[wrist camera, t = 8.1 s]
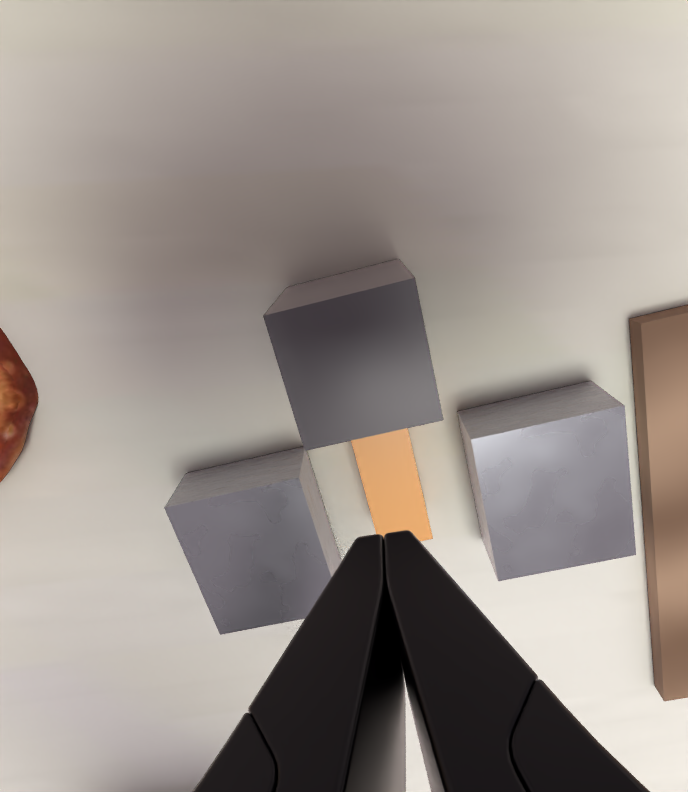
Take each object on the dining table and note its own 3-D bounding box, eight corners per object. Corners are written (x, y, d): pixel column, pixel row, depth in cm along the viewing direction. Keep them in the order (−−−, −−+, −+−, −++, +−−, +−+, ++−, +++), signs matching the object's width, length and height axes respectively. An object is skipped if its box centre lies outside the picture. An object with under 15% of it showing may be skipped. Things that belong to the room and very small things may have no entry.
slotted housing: (604, 515, 21) (635, 554, 19) (234, 590, 23) (220, 634, 20) (591, 380, 19) (624, 405, 17) (185, 473, 21) (164, 507, 18)
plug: (450, 504, 21) (477, 590, 16) (354, 523, 21) (355, 612, 17) (398, 258, 18) (414, 277, 13) (286, 287, 18) (263, 315, 13)
